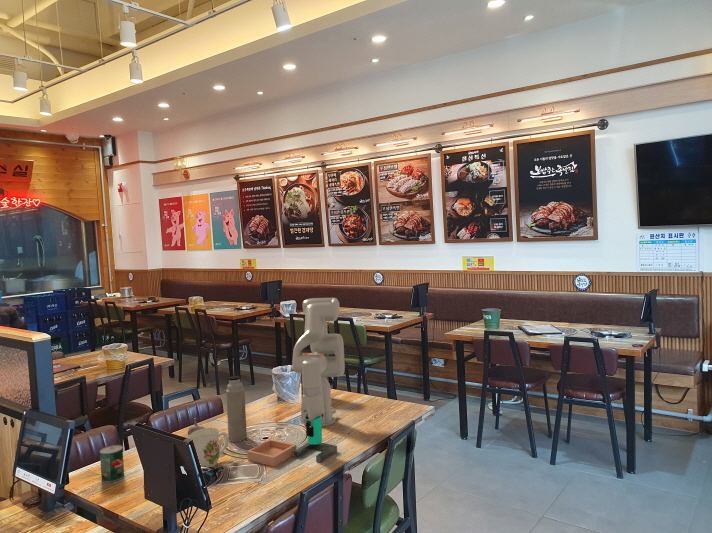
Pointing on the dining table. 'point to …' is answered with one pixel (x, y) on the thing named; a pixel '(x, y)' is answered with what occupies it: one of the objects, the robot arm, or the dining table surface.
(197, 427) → the garlic bulb
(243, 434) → the thermos bottle
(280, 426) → the dining table surface
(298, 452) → the dock
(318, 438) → the candle
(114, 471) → the canned tomato
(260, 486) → the dining table surface
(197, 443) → the pitcher
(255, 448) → the tray
